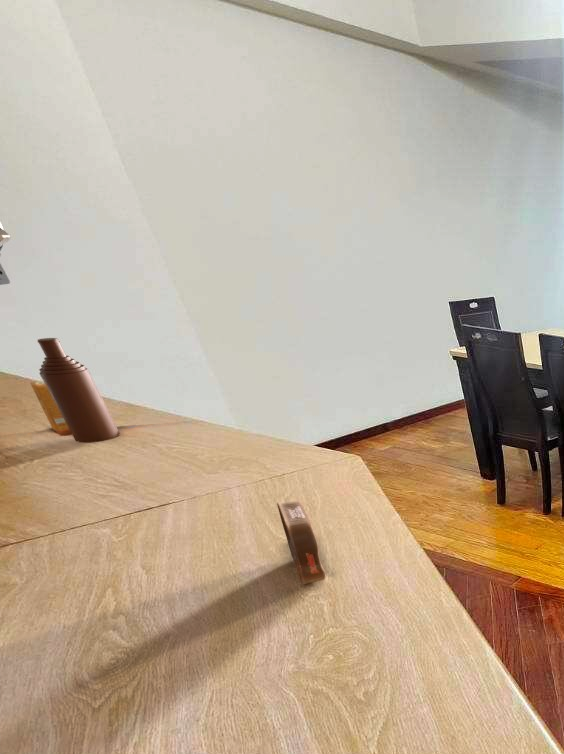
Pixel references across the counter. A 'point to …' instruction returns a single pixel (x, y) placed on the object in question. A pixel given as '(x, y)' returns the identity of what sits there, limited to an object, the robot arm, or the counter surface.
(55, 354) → the sauce bottle
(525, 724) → the counter surface
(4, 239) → the robot arm
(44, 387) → the supplement box
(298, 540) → the brown curved block
